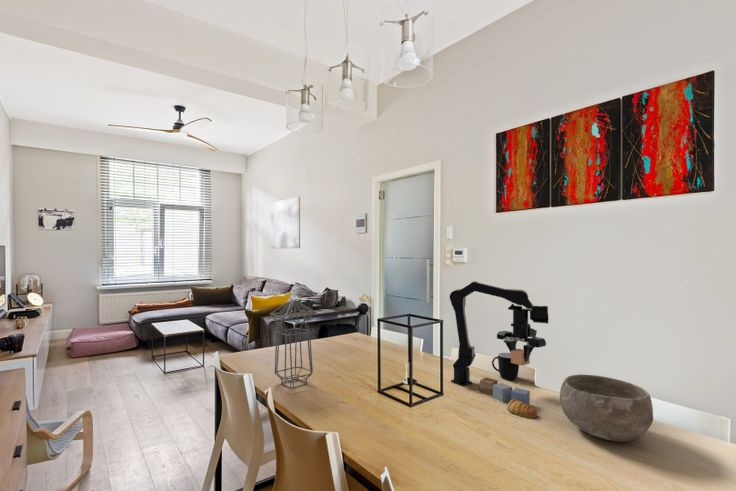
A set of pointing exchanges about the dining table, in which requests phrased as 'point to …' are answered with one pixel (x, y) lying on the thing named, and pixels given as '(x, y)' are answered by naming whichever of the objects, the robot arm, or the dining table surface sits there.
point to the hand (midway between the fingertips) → (520, 360)
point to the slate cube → (502, 392)
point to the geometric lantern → (289, 306)
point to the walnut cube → (487, 386)
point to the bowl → (607, 407)
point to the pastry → (521, 409)
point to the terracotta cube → (518, 357)
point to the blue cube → (521, 395)
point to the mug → (506, 366)
